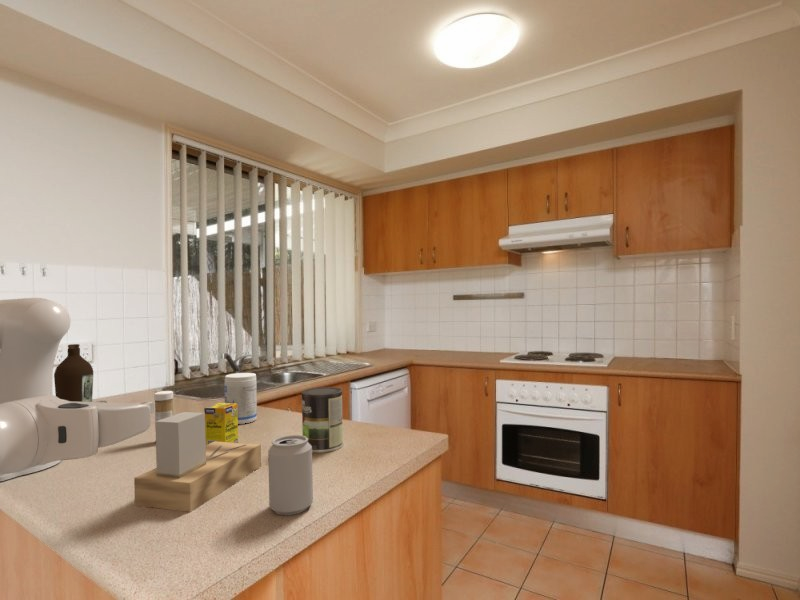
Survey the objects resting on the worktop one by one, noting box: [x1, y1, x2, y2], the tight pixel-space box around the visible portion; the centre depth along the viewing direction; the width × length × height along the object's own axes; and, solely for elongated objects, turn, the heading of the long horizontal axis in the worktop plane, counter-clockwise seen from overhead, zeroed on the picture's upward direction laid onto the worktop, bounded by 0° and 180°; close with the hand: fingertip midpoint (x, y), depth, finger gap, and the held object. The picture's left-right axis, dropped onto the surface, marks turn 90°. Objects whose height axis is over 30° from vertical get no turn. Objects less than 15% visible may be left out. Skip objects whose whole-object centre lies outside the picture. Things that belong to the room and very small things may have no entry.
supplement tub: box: [224, 372, 258, 425], centre depth 139 cm, size 10×10×15 cm
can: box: [267, 434, 314, 516], centre depth 78 cm, size 8×8×12 cm
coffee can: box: [300, 386, 344, 454], centre depth 112 cm, size 10×10×14 cm
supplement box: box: [203, 402, 239, 445], centre depth 113 cm, size 6×6×11 cm
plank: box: [133, 441, 262, 513], centre depth 89 cm, size 22×12×5 cm, turn 165°
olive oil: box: [53, 343, 94, 402], centre depth 148 cm, size 11×11×25 cm
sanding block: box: [154, 411, 206, 478], centre depth 84 cm, size 7×5×10 cm
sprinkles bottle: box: [153, 390, 174, 443], centre depth 119 cm, size 5×5×14 cm
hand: (126, 406), depth 72 cm, fingers open, 8 cm apart
